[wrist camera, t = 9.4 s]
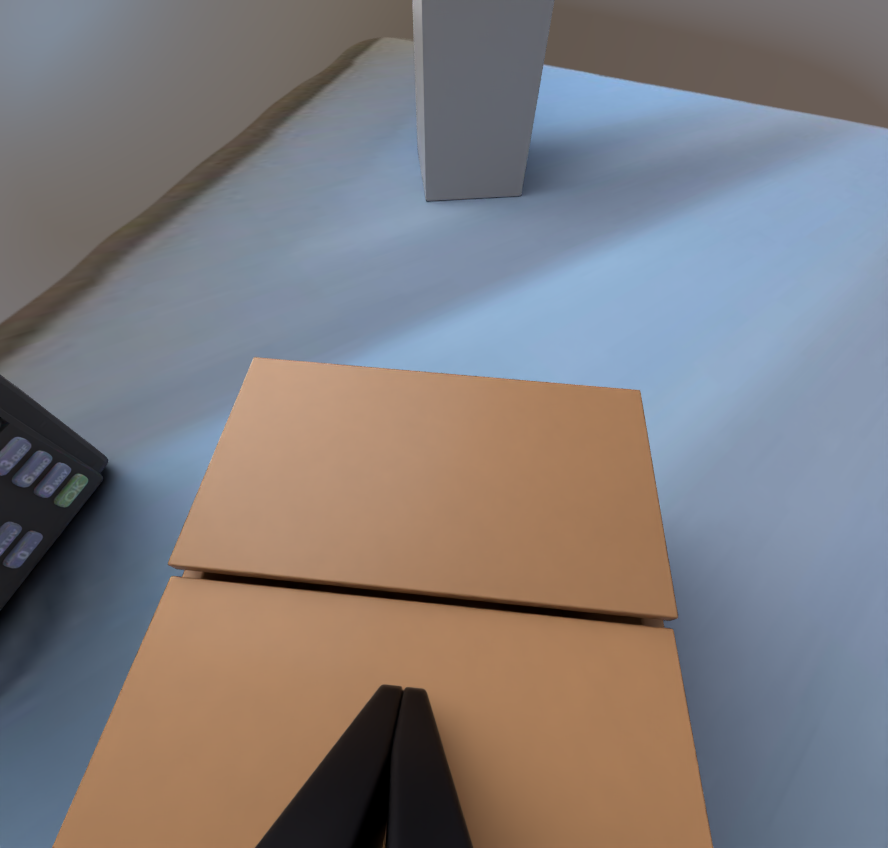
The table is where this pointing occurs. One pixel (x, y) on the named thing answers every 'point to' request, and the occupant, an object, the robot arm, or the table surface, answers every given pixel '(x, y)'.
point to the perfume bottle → (477, 93)
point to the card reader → (37, 483)
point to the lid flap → (353, 684)
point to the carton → (435, 493)
